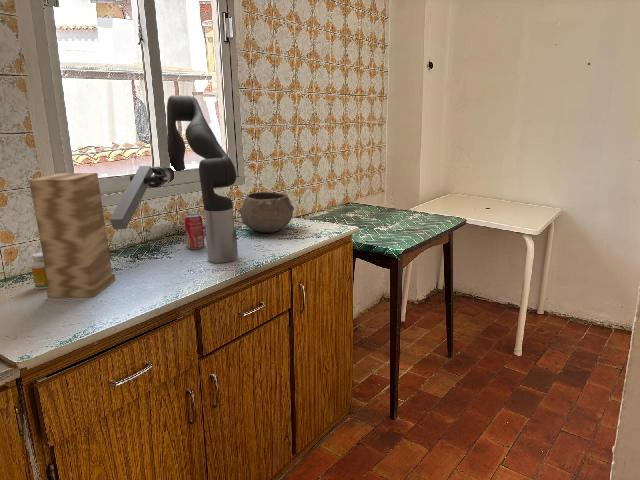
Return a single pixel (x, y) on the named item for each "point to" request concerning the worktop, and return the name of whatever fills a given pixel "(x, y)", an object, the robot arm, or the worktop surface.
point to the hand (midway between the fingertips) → (138, 180)
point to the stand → (72, 234)
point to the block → (131, 199)
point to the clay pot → (266, 211)
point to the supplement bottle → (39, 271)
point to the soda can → (194, 231)
